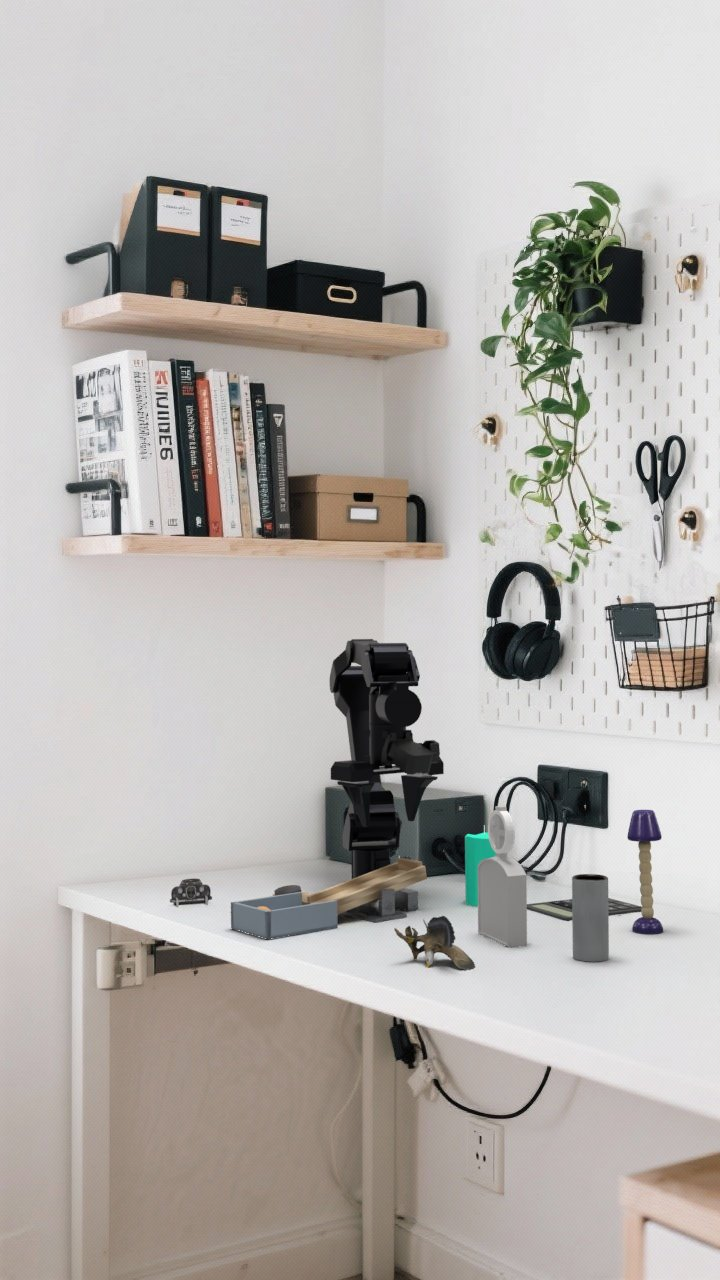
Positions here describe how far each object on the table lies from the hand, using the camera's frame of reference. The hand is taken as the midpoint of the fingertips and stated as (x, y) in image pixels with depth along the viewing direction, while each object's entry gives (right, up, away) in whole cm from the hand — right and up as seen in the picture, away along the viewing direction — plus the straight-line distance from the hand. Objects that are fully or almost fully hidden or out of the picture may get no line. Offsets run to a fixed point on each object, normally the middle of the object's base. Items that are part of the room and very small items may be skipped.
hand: (388, 823), depth 214 cm
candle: (+15, -12, -2) cm, 19 cm away
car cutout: (-27, -13, 0) cm, 30 cm away
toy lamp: (+35, -12, -23) cm, 44 cm away
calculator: (+29, -12, -8) cm, 33 cm away
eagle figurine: (+5, -12, -42) cm, 44 cm away
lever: (-6, -9, -7) cm, 13 cm away
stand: (-1, -12, -9) cm, 15 cm away
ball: (-18, -10, -22) cm, 30 cm away
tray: (-15, -12, -20) cm, 28 cm away
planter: (+25, -12, -39) cm, 48 cm away
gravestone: (+15, -12, -28) cm, 34 cm away
